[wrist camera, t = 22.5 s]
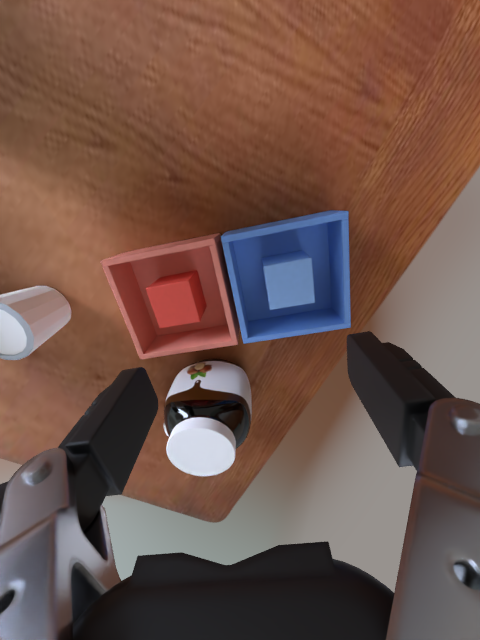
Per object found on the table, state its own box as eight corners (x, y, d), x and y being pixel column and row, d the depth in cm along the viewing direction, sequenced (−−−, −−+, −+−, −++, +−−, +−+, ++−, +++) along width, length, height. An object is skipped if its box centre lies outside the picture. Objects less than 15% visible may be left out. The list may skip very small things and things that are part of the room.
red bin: (124, 252, 29) (99, 260, 24) (220, 232, 27) (213, 237, 23) (155, 338, 33) (140, 359, 28) (239, 324, 32) (238, 344, 27)
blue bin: (225, 231, 27) (220, 236, 23) (330, 210, 26) (348, 210, 21) (244, 324, 32) (243, 344, 27) (335, 309, 31) (350, 327, 26)
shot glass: (60, 275, 30) (8, 293, 24) (85, 326, 33) (45, 355, 26) (9, 286, 31) (-54, 306, 24) (38, 335, 33) (-11, 365, 27)
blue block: (261, 257, 28) (263, 266, 24) (302, 249, 27) (311, 257, 23) (267, 296, 30) (270, 310, 25) (306, 289, 29) (315, 302, 25)
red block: (159, 277, 29) (145, 288, 25) (197, 269, 29) (188, 280, 24) (171, 312, 31) (159, 328, 27) (207, 306, 30) (200, 321, 26)
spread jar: (250, 355, 34) (250, 423, 23) (253, 419, 38) (254, 501, 27) (161, 357, 34) (122, 425, 24) (174, 420, 39) (146, 500, 28)
